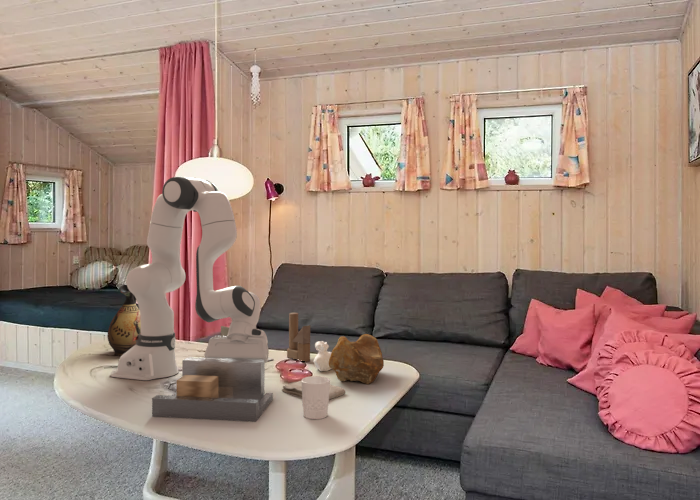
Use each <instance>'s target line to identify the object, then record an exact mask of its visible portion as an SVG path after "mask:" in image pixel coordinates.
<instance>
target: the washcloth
mask: <svg viewBox="0 0 700 500" xmlns="http://www.w3.org/2000/svg"><path fill="white" fill-rule="evenodd" d="M281 391H282V392H284V393H285V394H287V395H290V396H295V397H297V398H301V399H302V379H301V380H299V381H295V382H289V383H286V384H284V385H282V388H281ZM345 394H346V390H345V389H344V388H343V387H340V386H337V385H333V384H330V389H329V401H331V400H332V399H336V398H338V397H341V396H343V395H345Z"/></svg>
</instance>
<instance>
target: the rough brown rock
mask: <svg viewBox="0 0 700 500" xmlns="http://www.w3.org/2000/svg"><path fill="white" fill-rule="evenodd" d="M331 352H332V353H331V356H330V359H329V367H330V368H332V369H331V370H333V371H334V372H335V376H336V378H337V379H338V380H339V381H340V382H345V381H349V382H357V381H359V382H361V383H363V384H366V385H370V384H372V383H374V382H375V380H376V378H377V377H378V374H379V373H380V372H381V371H382V370H383V368H384V366H385V365H384V358H383V353H382V350H381V346H380V344H379V341H378V339H377V338H376V337H375V336H373V335H371V334H368V333H365V334H362V335H360V336H359V338H358V339H356V341H350V340H349V339H348V337H346V336H345V335H344V336H339V338H338V339H337V343H336V345H335V346H334V347H333V349H332V350H331Z"/></svg>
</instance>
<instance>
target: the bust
mask: <svg viewBox="0 0 700 500" xmlns="http://www.w3.org/2000/svg"><path fill="white" fill-rule="evenodd" d="M314 348H315V349H316V351H317V354H316V355H315V357H314V359H313V361H312V362H313V363H314V367H315V369H317V370H319V371H320V372H328V371H331V370H333V369H332V368H330V367H329V359H330V356H331V353H332V351H328V349H329V348H330V346H329V344H328V343H327V341H324V340H321V341H320V340H319V341H316V342H315V343H314Z"/></svg>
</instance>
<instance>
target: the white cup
mask: <svg viewBox="0 0 700 500" xmlns="http://www.w3.org/2000/svg"><path fill="white" fill-rule="evenodd" d="M301 380H302V398H301V401H302V412H303V413H302V414H303V417H304V418H306V419H309V420H322V419H325V418H326V417H327V416H328V408H329V404H330V403H329V401H330V400H329V389H330V385H331V380H330V378H329V377H327V376H321V375H313V376H305V377H303V378H301Z"/></svg>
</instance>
